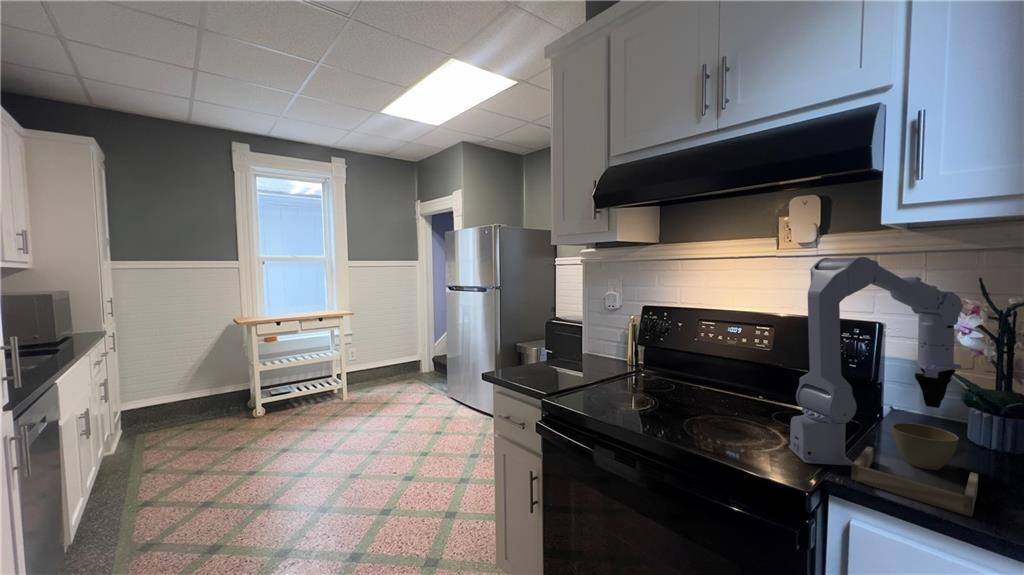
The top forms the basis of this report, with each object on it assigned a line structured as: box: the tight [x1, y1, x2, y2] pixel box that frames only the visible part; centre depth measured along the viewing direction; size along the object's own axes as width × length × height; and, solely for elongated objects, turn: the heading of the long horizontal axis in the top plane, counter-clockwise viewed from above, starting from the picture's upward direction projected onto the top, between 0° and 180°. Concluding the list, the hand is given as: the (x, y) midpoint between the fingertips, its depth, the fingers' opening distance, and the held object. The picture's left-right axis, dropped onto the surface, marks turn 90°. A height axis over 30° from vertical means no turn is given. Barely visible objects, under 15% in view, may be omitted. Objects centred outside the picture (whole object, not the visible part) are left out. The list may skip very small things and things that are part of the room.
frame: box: [850, 446, 979, 518], centre depth 80 cm, size 13×16×3 cm
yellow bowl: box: [891, 422, 960, 471], centre depth 88 cm, size 10×10×7 cm
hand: (934, 402), depth 95 cm, fingers open, 7 cm apart
